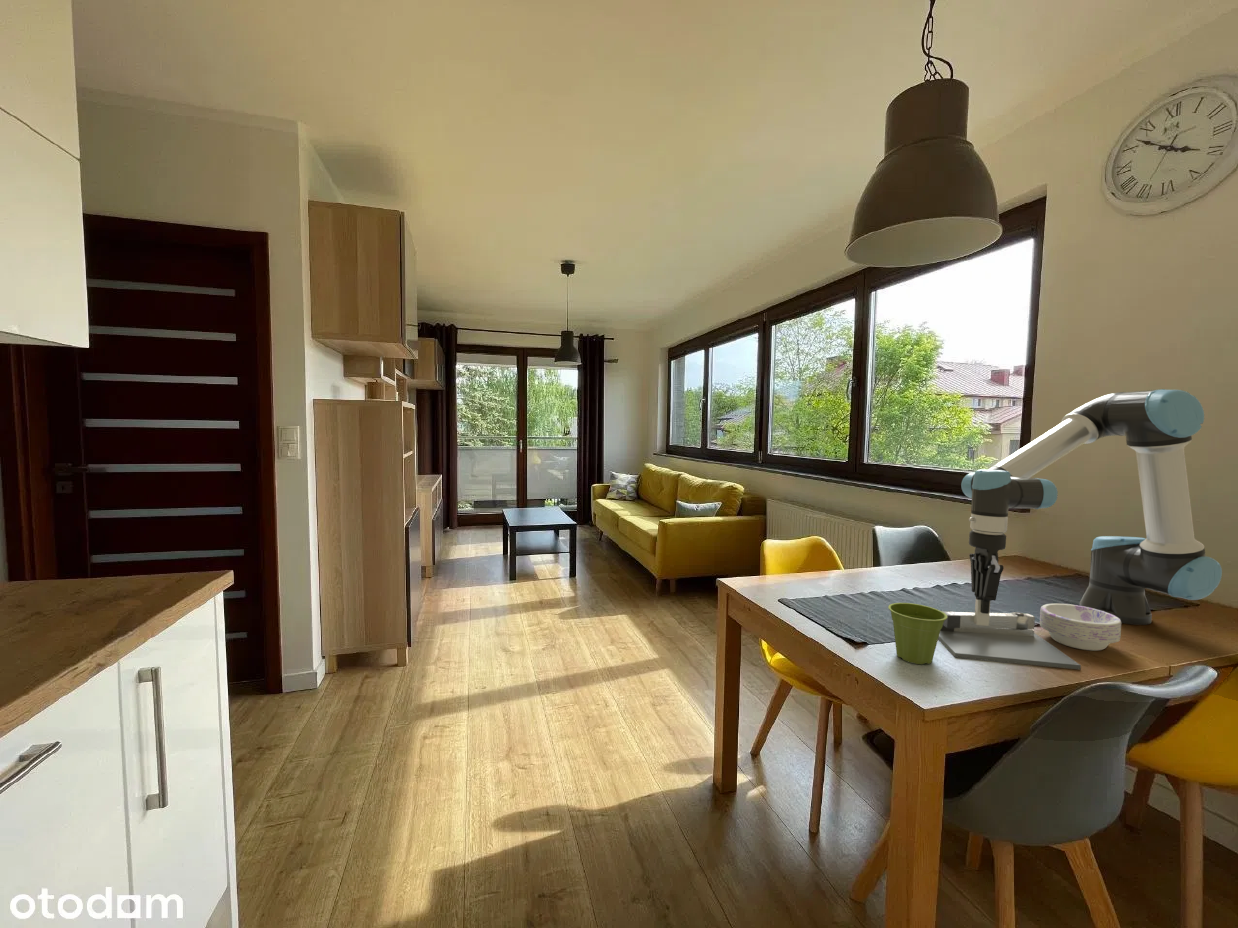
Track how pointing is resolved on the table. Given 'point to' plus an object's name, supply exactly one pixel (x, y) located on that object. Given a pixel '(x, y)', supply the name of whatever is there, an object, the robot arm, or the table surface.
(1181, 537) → the robot arm
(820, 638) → the table surface
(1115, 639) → the paper bowls
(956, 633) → the board
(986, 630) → the arm
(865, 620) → the table surface
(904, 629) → the plant pot
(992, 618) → the bar
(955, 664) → the table surface
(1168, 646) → the table surface
